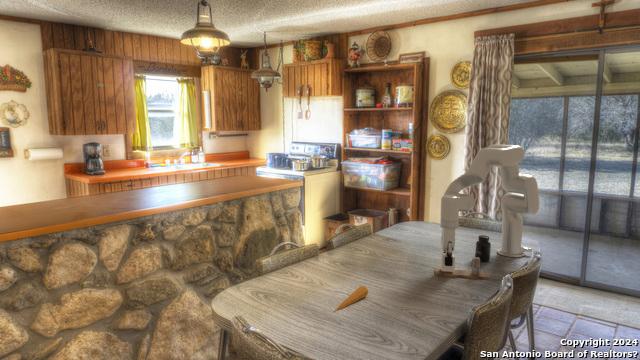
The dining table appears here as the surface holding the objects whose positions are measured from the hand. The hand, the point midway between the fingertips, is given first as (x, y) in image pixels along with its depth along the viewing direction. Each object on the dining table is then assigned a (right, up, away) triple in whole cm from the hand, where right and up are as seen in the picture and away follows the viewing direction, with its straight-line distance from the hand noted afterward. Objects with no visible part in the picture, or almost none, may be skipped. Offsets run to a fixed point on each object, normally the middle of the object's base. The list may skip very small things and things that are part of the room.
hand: (447, 262), depth 181 cm
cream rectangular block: (0, -3, 0) cm, 3 cm away
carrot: (-46, -10, -29) cm, 55 cm away
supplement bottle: (+23, -3, +19) cm, 30 cm away
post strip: (+6, -5, -1) cm, 8 cm away
